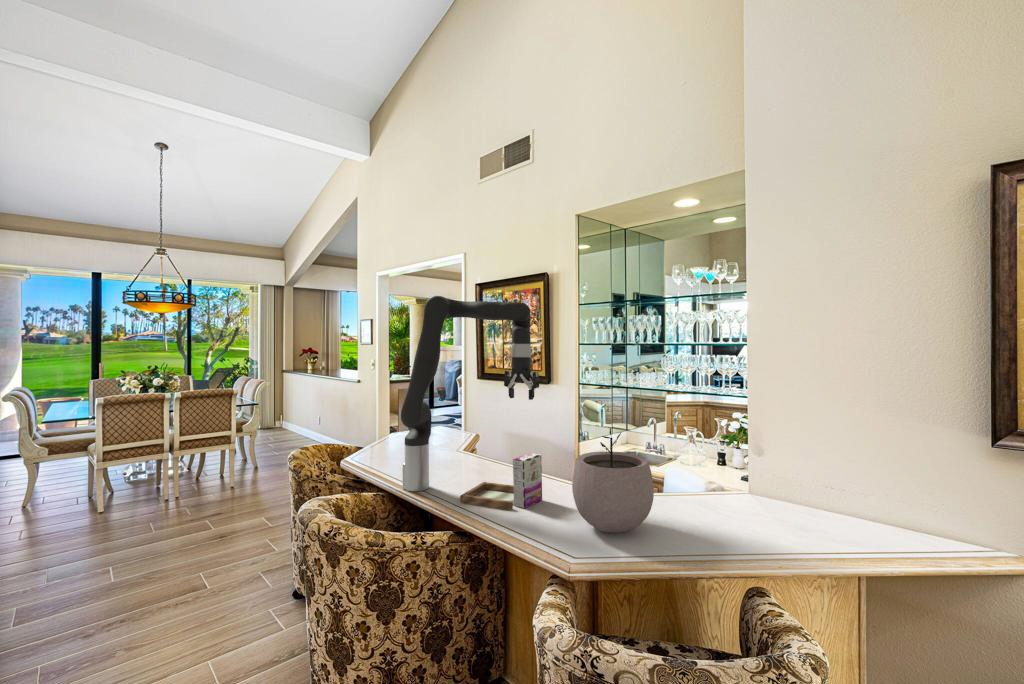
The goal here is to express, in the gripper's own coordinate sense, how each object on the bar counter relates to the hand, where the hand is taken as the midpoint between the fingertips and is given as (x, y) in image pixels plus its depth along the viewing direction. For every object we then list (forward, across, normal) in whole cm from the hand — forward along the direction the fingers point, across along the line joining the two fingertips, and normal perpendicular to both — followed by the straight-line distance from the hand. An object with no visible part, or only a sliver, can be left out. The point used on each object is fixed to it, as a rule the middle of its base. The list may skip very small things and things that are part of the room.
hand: (521, 398), depth 177 cm
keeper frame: (+35, -3, -12) cm, 37 cm away
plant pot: (+35, +42, -16) cm, 57 cm away
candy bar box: (+35, +9, -10) cm, 37 cm away
